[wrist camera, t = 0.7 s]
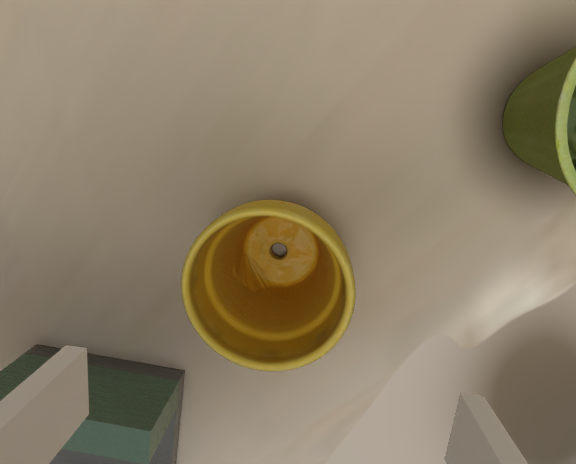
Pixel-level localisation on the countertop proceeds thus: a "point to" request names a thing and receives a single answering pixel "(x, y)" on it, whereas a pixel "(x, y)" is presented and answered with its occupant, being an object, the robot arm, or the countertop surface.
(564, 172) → the plant pot
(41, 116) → the countertop surface
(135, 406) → the vise base
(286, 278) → the plant pot
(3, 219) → the countertop surface
